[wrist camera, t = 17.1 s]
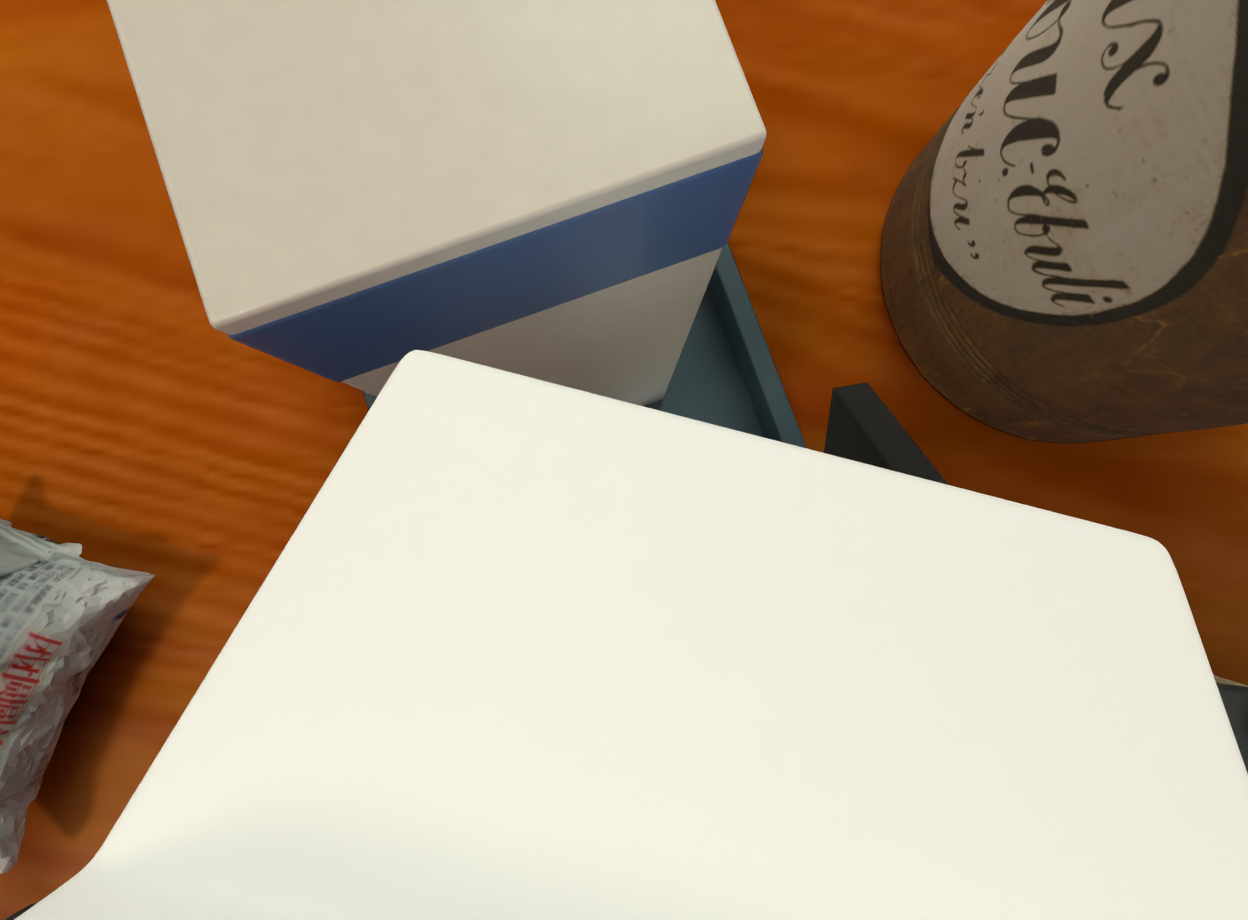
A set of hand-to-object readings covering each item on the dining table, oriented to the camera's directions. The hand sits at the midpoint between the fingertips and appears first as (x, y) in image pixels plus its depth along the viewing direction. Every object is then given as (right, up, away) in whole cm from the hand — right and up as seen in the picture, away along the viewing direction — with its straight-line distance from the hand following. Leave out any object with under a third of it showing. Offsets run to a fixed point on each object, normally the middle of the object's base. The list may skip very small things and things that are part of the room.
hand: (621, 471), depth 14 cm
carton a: (-2, +4, +10) cm, 11 cm away
